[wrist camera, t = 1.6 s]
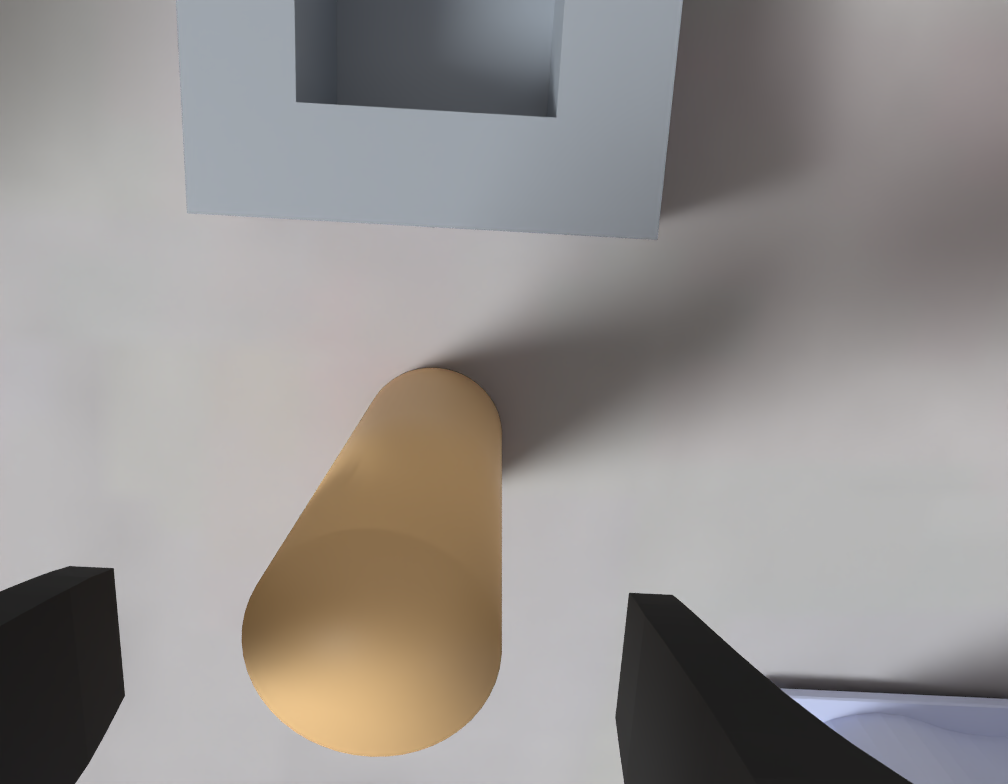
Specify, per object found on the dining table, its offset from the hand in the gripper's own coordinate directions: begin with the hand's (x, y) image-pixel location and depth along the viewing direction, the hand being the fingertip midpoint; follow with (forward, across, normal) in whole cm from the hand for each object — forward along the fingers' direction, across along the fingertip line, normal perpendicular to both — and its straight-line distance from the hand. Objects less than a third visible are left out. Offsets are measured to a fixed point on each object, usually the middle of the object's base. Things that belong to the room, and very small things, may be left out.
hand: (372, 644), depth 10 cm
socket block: (+9, 0, -10) cm, 14 cm away
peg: (+9, 0, 0) cm, 9 cm away
